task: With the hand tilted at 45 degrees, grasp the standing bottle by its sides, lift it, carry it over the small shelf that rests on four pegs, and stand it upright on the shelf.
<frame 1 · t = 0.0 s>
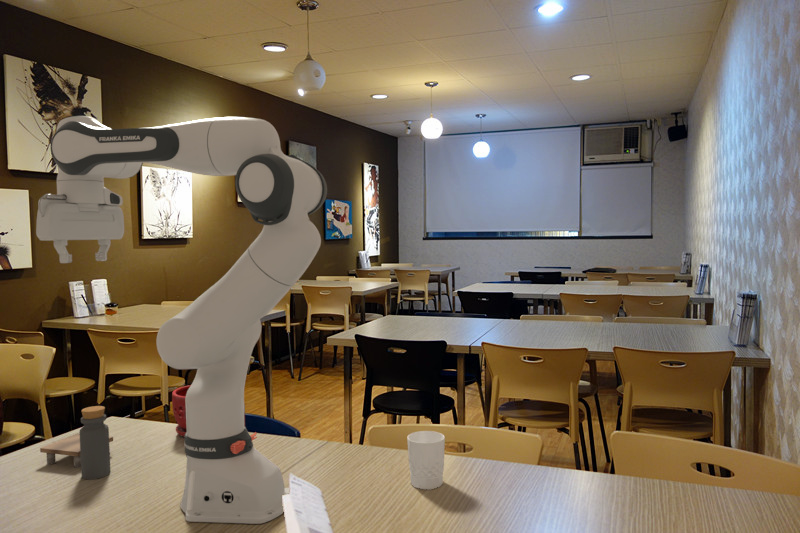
hand: (84, 261, 129), 48 cm above the table, tool pointing down, fingers open, 8 cm apart
bottle: (96, 475, 138), on the table
peg shelf: (78, 458, 148), on the table
soda can: (232, 445, 156), on the table
white cup: (426, 484, 130), on the table
plant pot: (199, 433, 166), on the table
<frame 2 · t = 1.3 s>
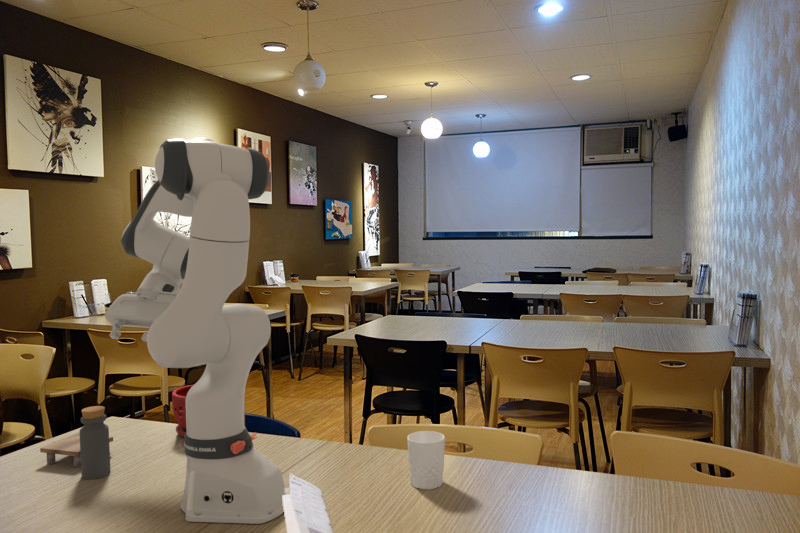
hand: (128, 339, 147), 29 cm above the table, tool tilted 45°, fingers open, 8 cm apart
nothing on the table moved.
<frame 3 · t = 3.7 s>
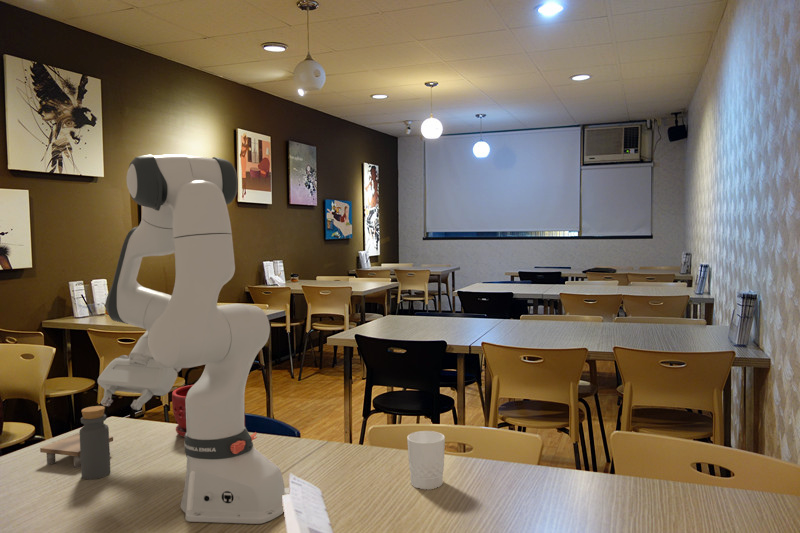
hand: (119, 406, 144), 13 cm above the table, tool tilted 45°, fingers open, 8 cm apart
nothing on the table moved.
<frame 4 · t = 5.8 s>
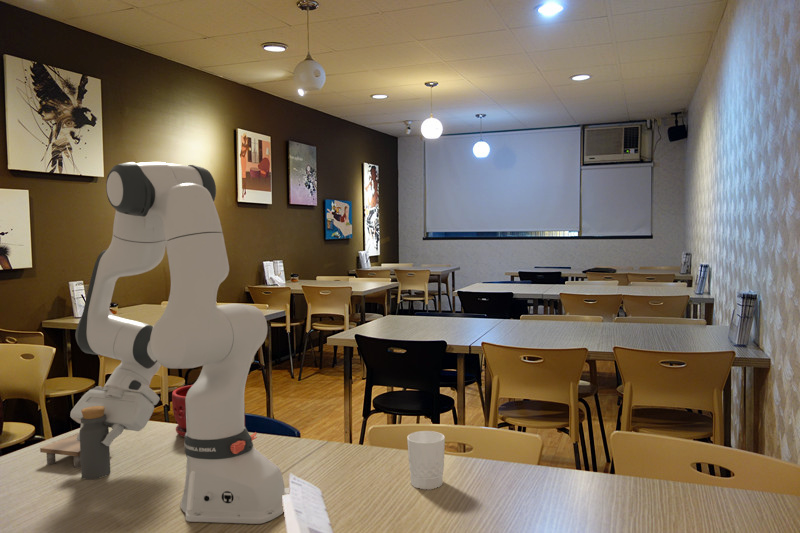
hand: (92, 443, 137), 7 cm above the table, tool tilted 45°, fingers closed on bottle, 6 cm apart
bottle: (96, 475, 138), on the table, touching gripper
everything else where it was.
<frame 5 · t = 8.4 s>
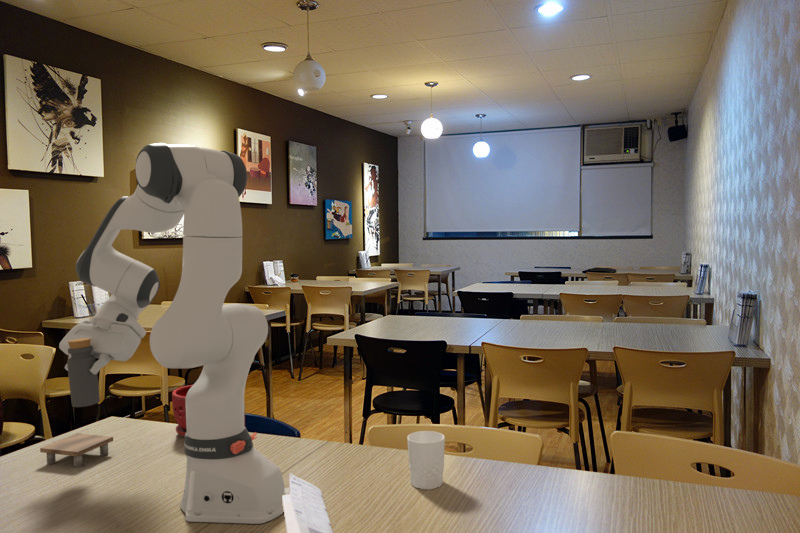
hand: (79, 371, 141), 22 cm above the table, tool tilted 45°, fingers closed on bottle, 6 cm apart
bottle: (86, 404, 142), point 15 cm above the table, touching gripper
everything else where it was.
when the fingers open (12 cm above the table, at t = 11.1 s): bottle stays where it is, resting on peg shelf.
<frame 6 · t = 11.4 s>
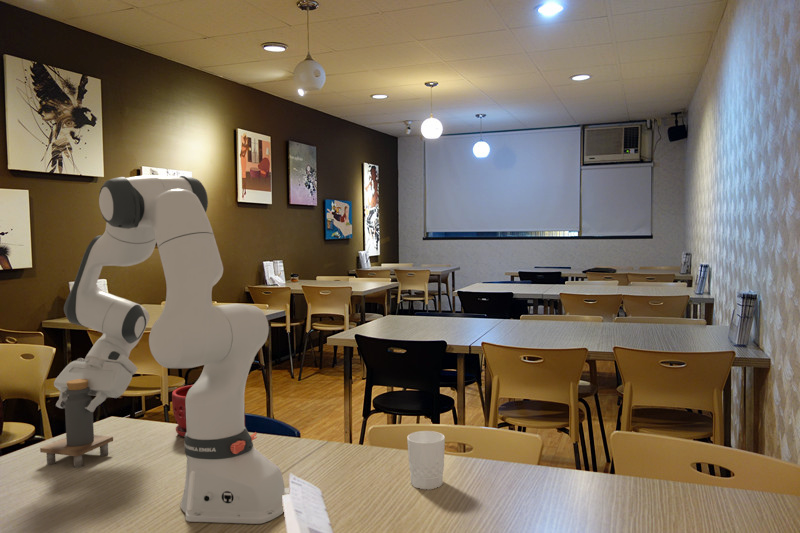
hand: (73, 408, 147), 12 cm above the table, tool tilted 45°, fingers open, 8 cm apart
bottle: (80, 443, 148), point 4 cm above the table, touching peg shelf
everything else where it was.
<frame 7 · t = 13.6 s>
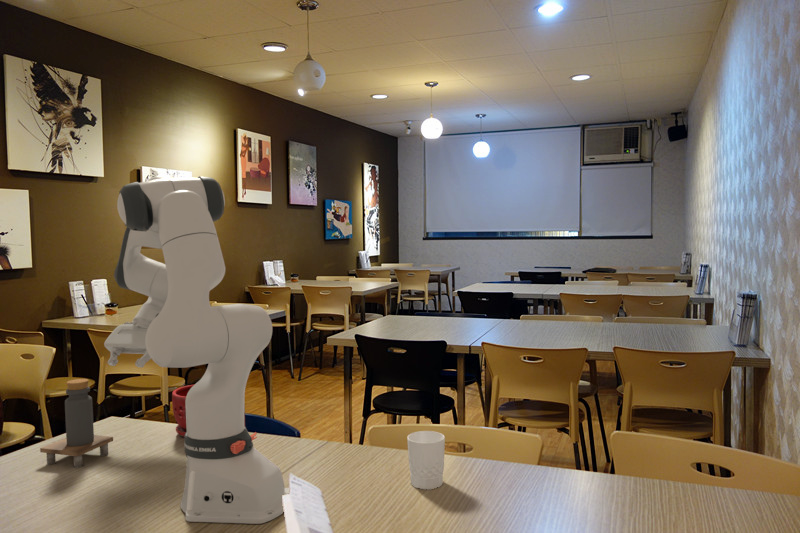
hand: (124, 365, 159), 20 cm above the table, tool tilted 45°, fingers open, 8 cm apart
nothing on the table moved.
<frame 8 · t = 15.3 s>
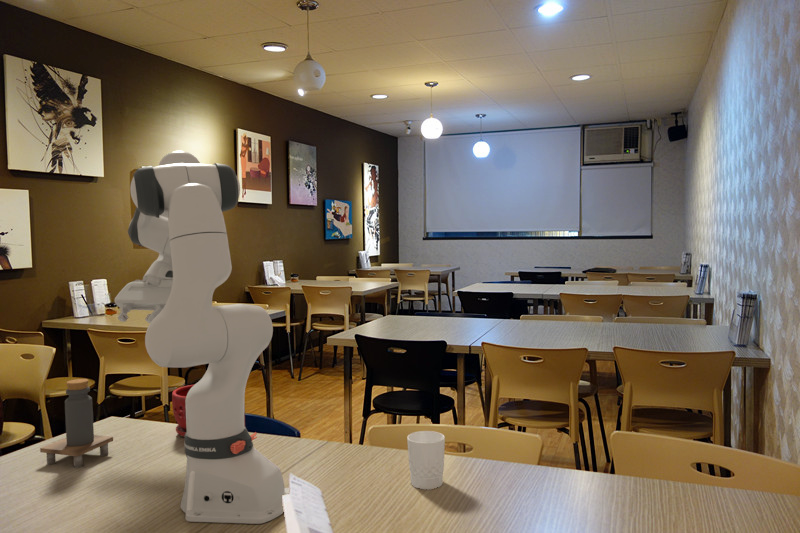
hand: (134, 320, 160), 31 cm above the table, tool tilted 45°, fingers open, 8 cm apart
nothing on the table moved.
at the end: bottle inside the target area on the peg shelf (0.9 cm from its centre), point 3.8 cm above the peg shelf's base; bottle tilted 0°; the gripper is holding nothing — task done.
